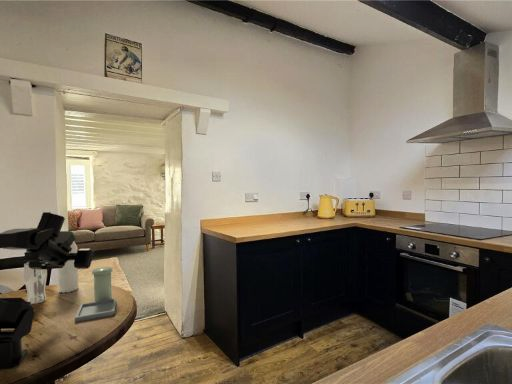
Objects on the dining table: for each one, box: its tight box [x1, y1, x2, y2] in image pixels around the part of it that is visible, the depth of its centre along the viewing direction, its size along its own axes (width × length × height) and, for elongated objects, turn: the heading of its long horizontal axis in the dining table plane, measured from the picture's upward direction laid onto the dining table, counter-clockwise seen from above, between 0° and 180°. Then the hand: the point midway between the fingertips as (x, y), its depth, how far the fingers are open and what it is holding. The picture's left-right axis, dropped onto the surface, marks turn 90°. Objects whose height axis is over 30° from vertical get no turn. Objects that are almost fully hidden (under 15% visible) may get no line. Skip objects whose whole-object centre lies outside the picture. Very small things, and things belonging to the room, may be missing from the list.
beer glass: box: [23, 261, 48, 305], centre depth 106 cm, size 7×7×15 cm
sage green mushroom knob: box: [91, 266, 113, 302], centre depth 106 cm, size 7×7×12 cm
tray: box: [74, 297, 117, 323], centre depth 97 cm, size 11×11×2 cm
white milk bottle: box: [57, 230, 79, 294], centre depth 117 cm, size 7×7×25 cm
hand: (75, 266), depth 97 cm, fingers open, 9 cm apart
